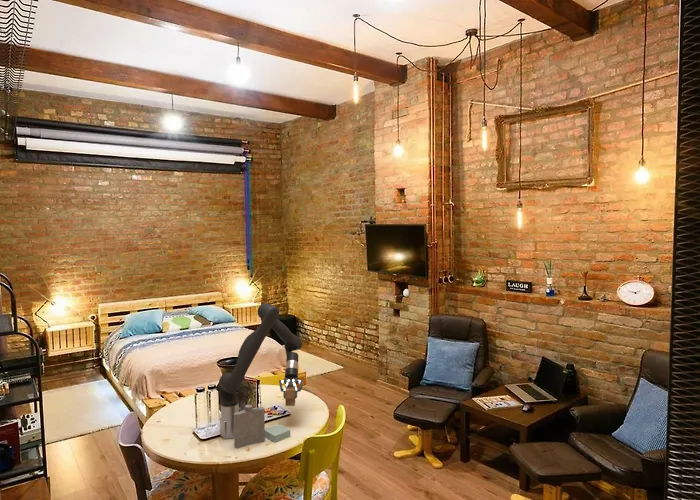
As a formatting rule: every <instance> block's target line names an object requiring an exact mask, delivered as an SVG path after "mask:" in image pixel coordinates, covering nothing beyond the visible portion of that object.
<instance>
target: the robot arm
mask: <svg viewBox="0 0 700 500" xmlns="http://www.w3.org/2000/svg"><path fill="white" fill-rule="evenodd" d="M257 315H258V317H259V318H260V319H261V323H260V324H259V326H258V328H256V329H255V330H254V331H253V332H251V333H250V334H248V335H247V337H246V338H245V339H244V341H243V342H242V344H241V346H240V348H239V350H238V354H237V361H236V364H235V367H234V369H232V372H225V373H223V374H222V375H221V376H220V377H219V380H218V395H219V396H218V397H219V400H220V418H219V433H220V434H219V435H220V436H221V437H222V438H223V439H224V440H226V439H234V413H235V412H239V410H240V407H239V404H240V402H239V396H238V394H237V392H238V391H239V389H240V388H241V386H242V384H243V381H244V380H245V376H246V374H247V371H248V370H249V368H250V366H251V364H252V363H253V360H254V358H255V357H256V355H257V353H258V352H259V350H260V349H261V346H262V344H263V342H264V341H265V339H266V337H267V336H268V334H269V332H270V330H271V329H272V330H273V331H274V332H275V333H276V335H277V337H279V339H280V340H281V341H282V342H283V343H284V344H283V345H284V351H285V357H286V358H285V359H286V360H285V369H284V371H285V372H284V378H283V379H282V380H281V379H279V380H278V382H279V388H280V392H282V394H283V395H282V397H283V399H284V400H285V390H286V388H287V387H294V388H295V400H296V399H297V398H298V393H299V392H301V391H302V388H303V384H304V380H303V379H301V380H300V379H299V370H300V369H299V354H298V353H297V352H295V351H298V350H301V349H302V347H303V342H302V339H301V338H300V337H299V336H297V335H296V334H294V333H292V332H291V331H290V329H289V327H287V326H286V325H285V323H283V322H282V321H281V320H280V319H278V318H279V317H280V316H279V315H280V310H279V308H278V307H277V306H275V305H272V304H271V303H270V304H269V303H261V304H260V305H259V306H258V308H257ZM298 384H299V385H298ZM283 385H284V387H283ZM297 385H298V387H297Z"/></svg>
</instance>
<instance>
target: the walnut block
mask: <svg viewBox="0 0 700 500" xmlns="http://www.w3.org/2000/svg"><path fill="white" fill-rule="evenodd" d="M284 400H285V403H284V404H285V407H295V406H296V399H295V388H294V387H287V388H286V390H285V399H284Z"/></svg>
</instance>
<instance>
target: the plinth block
mask: <svg viewBox="0 0 700 500" xmlns="http://www.w3.org/2000/svg"><path fill="white" fill-rule="evenodd" d="M285 438H286V439H287V438H291V429H290V428H288V427H286V426H284V425H282V424H280V423H278V424H276V425H272V426H270V427H268V428H265V439H267V440H269V441H271V442H273V443H274V444H275V443H279V442H280V441H283V440H285Z"/></svg>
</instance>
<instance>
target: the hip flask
mask: <svg viewBox="0 0 700 500" xmlns="http://www.w3.org/2000/svg"><path fill="white" fill-rule="evenodd" d="M244 407H245V409H243V410H240V411H239V412H235V413H234V438H233V442H234V444H233V445H234V446H233V447H234V449H240V448H243V447H246V446H250V445H254V444H258V443H259V444H260V443H264V442H265V441H266V437H265V429H266V427H265V426H266V424H265V423H266V422H265V407H264V406H261V407H260V406H259V407H253V405H252V404H246V405H245V406H244Z"/></svg>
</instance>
